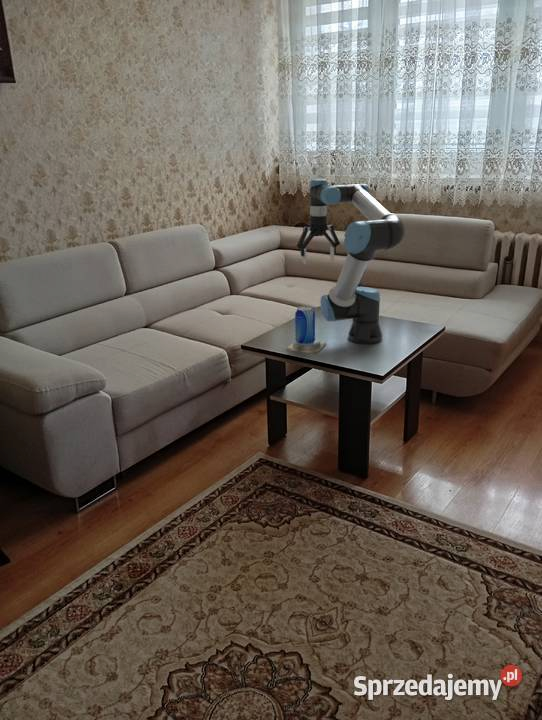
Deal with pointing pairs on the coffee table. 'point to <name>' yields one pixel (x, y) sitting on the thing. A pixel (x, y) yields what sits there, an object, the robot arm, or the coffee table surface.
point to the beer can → (305, 326)
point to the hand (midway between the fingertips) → (318, 262)
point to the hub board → (307, 347)
